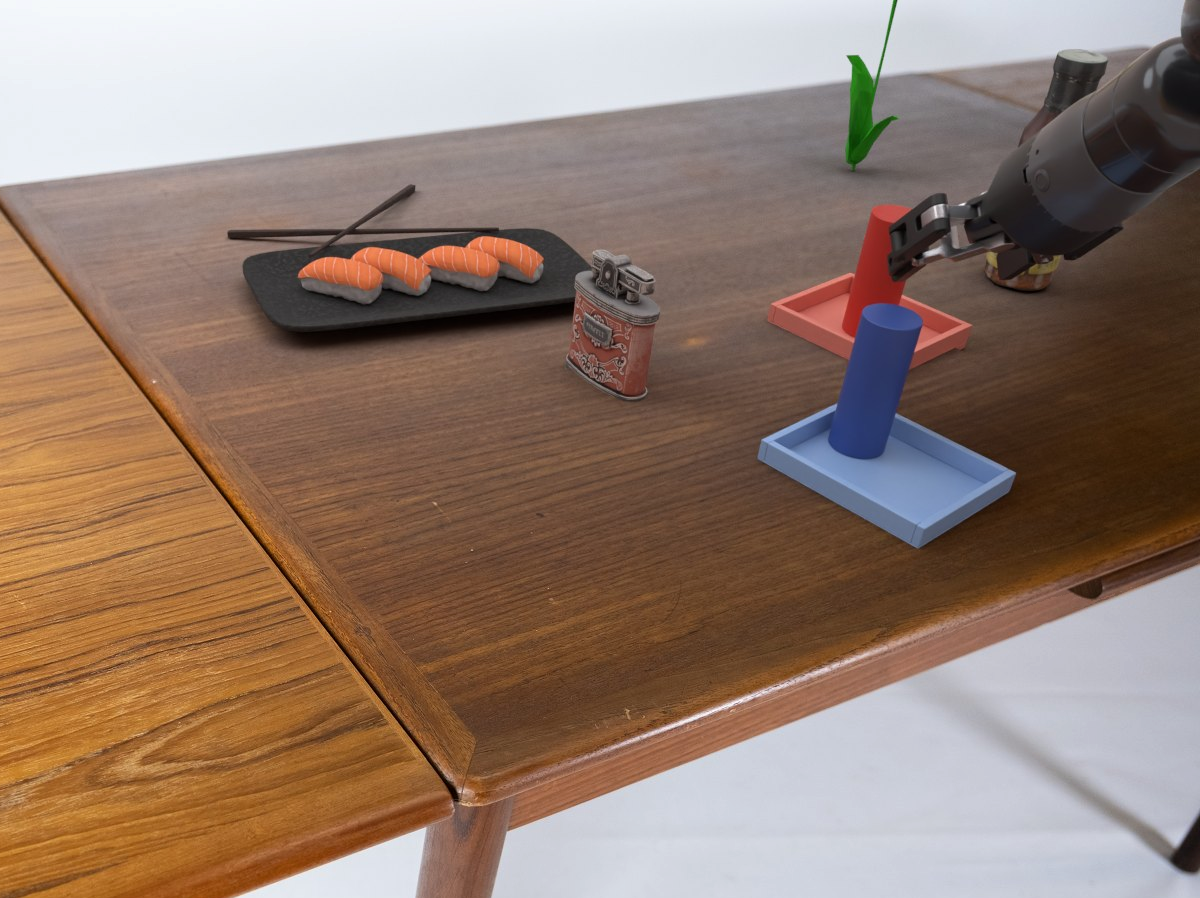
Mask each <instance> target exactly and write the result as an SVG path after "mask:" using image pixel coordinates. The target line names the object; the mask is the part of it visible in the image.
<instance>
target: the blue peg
mask: <svg viewBox="0 0 1200 898" xmlns="http://www.w3.org/2000/svg"><path fill="white" fill-rule="evenodd" d="M922 325H923V320H922V318H921V316H920V315H918V314H917V313H916V312H914V311H912V310H910V309H908V308H905V307H902V306H898V305H894V304H885V303H879V304H872V305H868V306H866V307H865V308H864V309H863V311H862V314H861V318H860V322H859V325H858V329H857V333H856V336H855V340H854V344H853V348H852V351H851V355H850V359H849V360H848V362H847V367H846V371H845V375H844V377H843V381H842V386H841V389H840V393H839V397H838V400H837V402H836V404H837V407H836V411H835V415H834V418H833V422H832V426H831V429H830V433H829V437H828V441H829V444H830V446H831V447H832V448H833V449H834V450H836V451H837V452H839V453H841V454H843V455H846V456H849V457H852V458H857V459H873V458H877V457H879V456H881V455H882V454H883V453H884V451H885V447H886V444H887V441H888V437H889V434H890V431H891V428H892V424H893V421H894V418H895V414H896V413H897V410H898V408H899V404H900V400H901V398H902V395H903V391H904V388H905V384H906V381H907V379H908V374H909V371H910V370H909V368H910V365H911V361H912V358H913V355H914V352H915V348H916V345H917V342H918V338H919V335H920V332H921V328H922Z"/></svg>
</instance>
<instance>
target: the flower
mask: <svg viewBox="0 0 1200 898" xmlns="http://www.w3.org/2000/svg"><path fill="white" fill-rule="evenodd" d="M898 1H899V0H892V4H891V9H890V15H889V20H888V24H887V29H886V34H885V39H884V43H883V49H882V52H881V56H880V60H879V65H878V68H877V71H876V72H877V73H876V77H875V79H873V77H872V75H871V73H870V71H869V69H868V67H867V65H866V63H865V61H863V59H862V58H861V56H860V55H859V54H847V55H846V58H847V59H848V61H849V63H850V65H851V79H850V80H851V81H850V87H849V98H850V99H849V103H850V104H849V105H850V106H849V119H848V135H847V140H846V143H845V147H844V148H845V149H844V152H845V163H847V164H849V165H851V170H850V171H851V172H855V171H856V170H855V169H856V166H857V165H858V164H860V163H862V162H863V161H864V159H866V158H867V156H868V154H869V152H870V151H871V149H872V147H873V145H874V143H875V142H876V141H877V140H878V138H880V136H881V134H882V133H883V131H884V130H885V129H886V128H887V127H888V126H889V125H890V123H891V122H893V121H896V120H899V117H898V116H897V115H895V116H894V115H891V116H887V117H886V118H884V119H881V120H879V121H878V122H875V124H874V122H873V120H874V119H873V106H874V101H875V96H876V92H877V89H878V84H879V80H880V75H881V71H882V67H883V63H884V58H885V54H886V50H887V47H888V42H889V37H890V34H891V29H892V26H893V21H894V16H895V12H896V10H897V9H896V8H897V4H898Z"/></svg>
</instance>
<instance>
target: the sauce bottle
mask: <svg viewBox="0 0 1200 898" xmlns="http://www.w3.org/2000/svg"><path fill="white" fill-rule="evenodd" d="M1053 62H1054V63H1053V67H1052V70H1053V74H1052V77H1051V81H1050V84H1049V88H1048V91H1047V94H1046V96H1045V98H1044V101H1043V105H1042V106H1041V108H1040V109H1039V110H1038V112H1037V113H1036V115H1034V116H1033V118H1032V119H1031V120H1030V121H1029V122H1028V123H1027V125H1025V127H1024V129H1023V131H1022V133H1021V135H1020V139H1019V142H1018V145H1017V148H1018V147H1020V146H1021V145H1022V144H1023V143H1025V142H1026V141H1027V140H1028V139H1030V138H1031V137H1032V136H1033V135H1035V134H1036V133H1037V132H1038V131H1040V130H1041V129H1042V128H1043V127H1045V126H1046V125H1047V124H1048V123H1050V122H1051V121H1052V120H1054V119H1055V118H1056V117H1057V116H1059V115H1060V114H1061V113H1062V112H1063V111H1065V110H1066V109H1067V108H1069V107H1070V106H1071V105H1073V104H1074V103H1076V102H1077V101H1078V100H1080V99H1082V98H1083V97H1085V96H1087V95H1089V94H1091V93H1093V92H1094V91H1096V90H1098V87H1099V84H1100V82H1101V79H1102V78H1103V77H1104V76H1105V74H1106V72H1107V71H1106V70H1107V66H1108V63H1109V57H1108V56H1106V55H1105V54H1103V53H1099V52H1096V51H1091V50H1087V49H1081V48H1068V49H1063V50H1060V51H1058V52H1057V54H1056V57H1055V59H1054V61H1053ZM1017 148H1016V149H1017ZM996 256H997V253H993V252H987V253H986V254H985V258H986V259H985V265H984V269H983V270H984V273H985V276H986V277H987V278H988V279H990V281H991V282H992V283H995V284H996V285H998V286H1001V287H1006V288H1009V289H1013V290H1016V291H1023V292H1025V291H1026V292H1027V291H1028V292H1033V291H1041V290H1043V289H1045V288H1047V287H1049V285H1050V283H1051V281H1052V280H1053V277H1054V273H1055V270H1057V269H1058V266H1059V264H1060V260H1061V256H1062V255H1058V256H1054V260H1053V261H1051V262H1049V263H1047V264H1035V265H1034V266H1032V267H1031V268H1029V269H1027V270H1026V271H1024V272H1023V273H1021V274H1019V275H1018V276H1016V277H1015V278H1013V279H1011V280H1000V279H999V276H998V268H997V261H996Z"/></svg>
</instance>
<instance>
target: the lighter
mask: <svg viewBox="0 0 1200 898" xmlns="http://www.w3.org/2000/svg"><path fill="white" fill-rule="evenodd" d="M590 266H592V271H584V272H580V273H578V274H577V275H576V277H575V285H574V287H575V289H576V299H575V302H574V309H573V310H574V311H573V316H572V326H571V334H570V343H569V351H568V353H567V354H566V357H565V363H564V369H565V370H566V371H569V370H572V371H573V372H574V373H575V374H576V375H578V376H579V377H580V378H582V379H583V380H584V381H585V382H587V383H588V384H590V385H591V386H593V387H594V388H597V390H600V391H601V392H603V393H604V394H607V395H609V396H611V397H613V398H615V399H617V400H618V401H619V400H620V401H621V402H627V403H635V402H636V403H637V402H640V401H643V400H645V399H646V397H647V396H648V395H647V394H648V389H647V387H646V386H647V385H646V384H647V379H648V373H649V368H650V367H649V366H650V360H651V355H652V349H653V348H652V347H653V341H654V336H655V335H654V334H655V329H656V323H658V322H659V320H660V316H661V315H660V314H661V306H659V304H657V302H656V301H654V300H652V299H651V298H650V297H649V296H652V295H654V293H655V287H656V279H655V278H654V276H653V275H652V274H650V273H648V272H647V271H645V270H644V269H641V268H640V267H638V266H636V265H633V262H632V259H631V258H630V256H629V255H627V254H619V255H614V254H612V253H611V252H609V251H608V250H605V249H596V250H593V251H592V255H591V262H590Z"/></svg>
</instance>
